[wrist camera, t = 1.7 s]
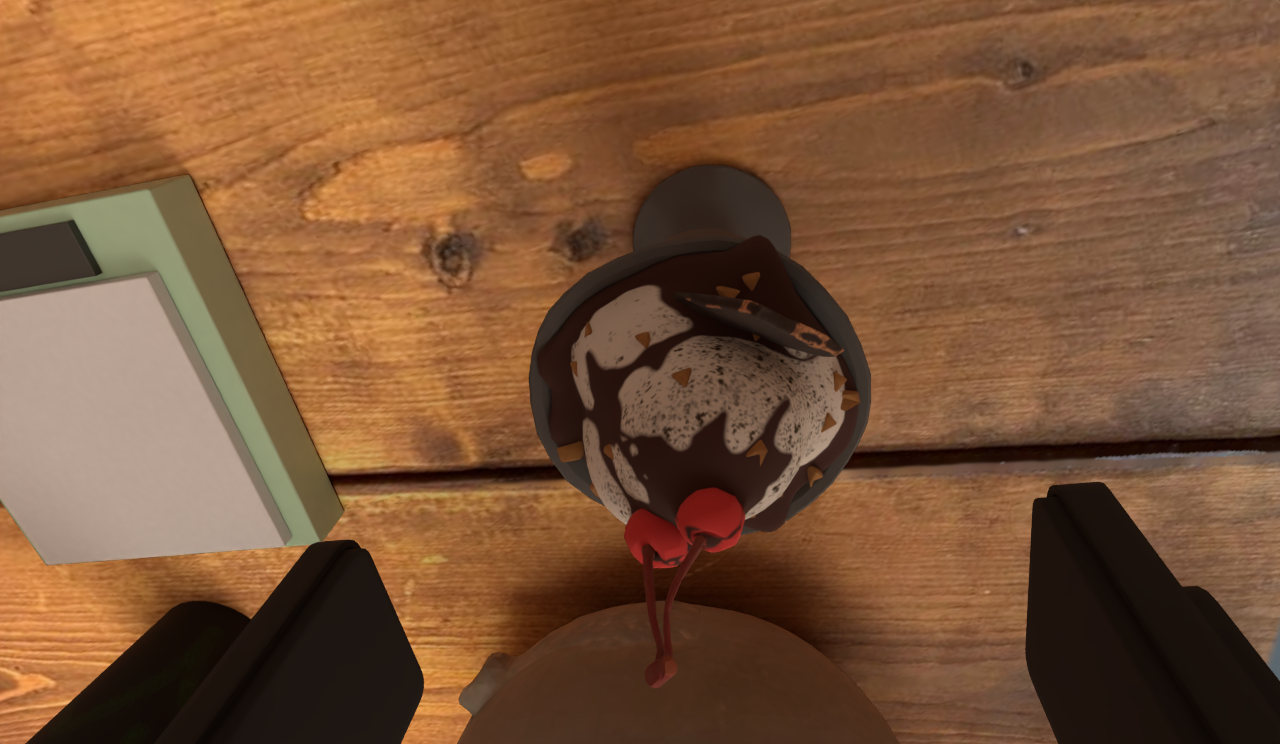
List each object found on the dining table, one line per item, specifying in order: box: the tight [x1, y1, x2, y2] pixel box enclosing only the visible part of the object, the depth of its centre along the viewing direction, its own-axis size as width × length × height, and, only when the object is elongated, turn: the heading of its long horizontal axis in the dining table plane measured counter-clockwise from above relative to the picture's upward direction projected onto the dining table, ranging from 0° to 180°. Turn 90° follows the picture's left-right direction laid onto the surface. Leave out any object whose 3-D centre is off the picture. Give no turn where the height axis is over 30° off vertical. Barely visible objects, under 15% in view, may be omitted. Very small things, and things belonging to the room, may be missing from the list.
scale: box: [0, 175, 344, 565], centre depth 27 cm, size 14×13×3 cm
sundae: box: [529, 165, 871, 688], centre depth 17 cm, size 7×7×15 cm
